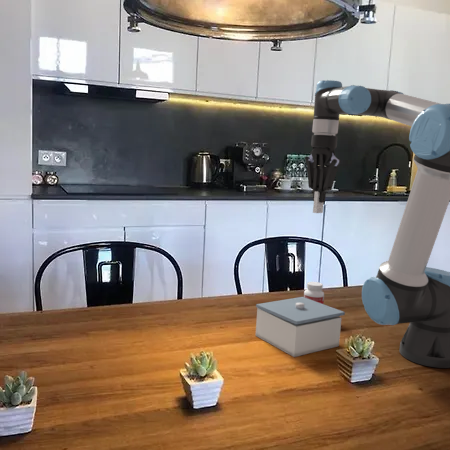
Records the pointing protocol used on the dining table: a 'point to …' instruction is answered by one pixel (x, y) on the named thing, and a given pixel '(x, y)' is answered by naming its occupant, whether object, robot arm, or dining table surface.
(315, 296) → the pill bottle
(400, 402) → the dining table surface
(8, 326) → the dining table surface
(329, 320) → the box
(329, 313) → the lid
